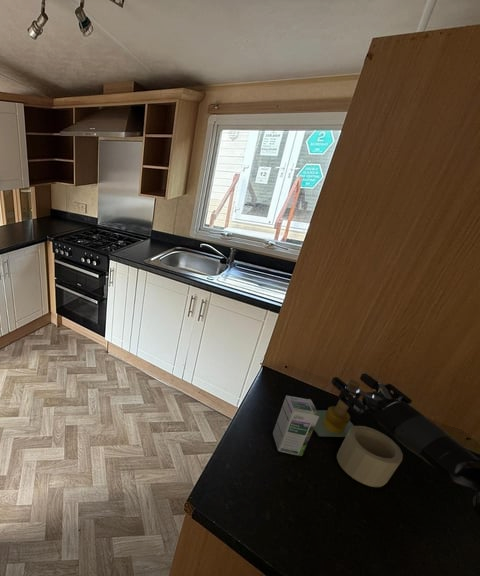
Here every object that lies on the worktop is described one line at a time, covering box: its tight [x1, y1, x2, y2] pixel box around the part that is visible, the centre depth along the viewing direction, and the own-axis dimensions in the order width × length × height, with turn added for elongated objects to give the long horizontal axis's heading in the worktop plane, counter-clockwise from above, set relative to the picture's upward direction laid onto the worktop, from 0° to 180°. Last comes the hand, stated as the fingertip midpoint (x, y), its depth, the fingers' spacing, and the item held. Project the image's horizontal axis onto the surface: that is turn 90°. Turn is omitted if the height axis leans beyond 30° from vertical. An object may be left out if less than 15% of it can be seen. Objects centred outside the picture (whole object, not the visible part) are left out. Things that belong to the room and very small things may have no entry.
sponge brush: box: [322, 379, 361, 434], centre depth 84 cm, size 5×5×16 cm
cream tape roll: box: [336, 425, 404, 488], centre depth 75 cm, size 10×10×9 cm
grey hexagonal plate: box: [313, 409, 355, 438], centre depth 88 cm, size 12×9×1 cm
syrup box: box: [272, 394, 319, 457], centre depth 79 cm, size 6×6×14 cm
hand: (347, 377), depth 82 cm, fingers open, 8 cm apart
